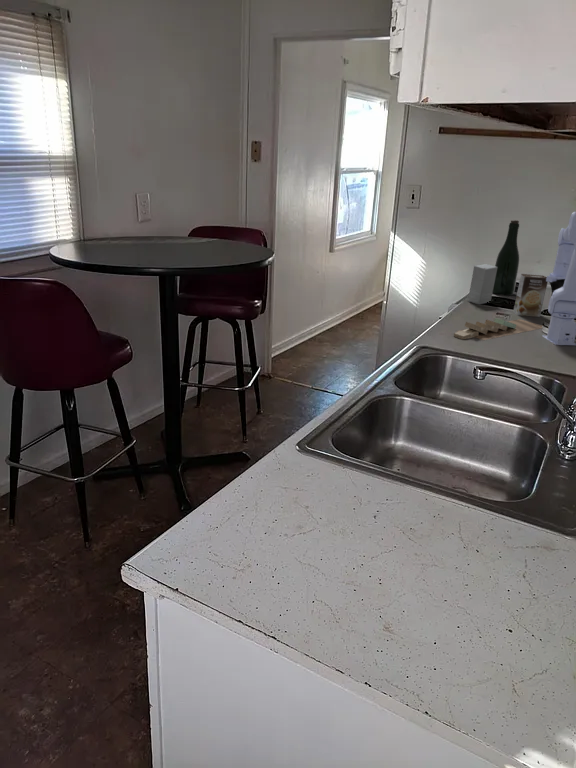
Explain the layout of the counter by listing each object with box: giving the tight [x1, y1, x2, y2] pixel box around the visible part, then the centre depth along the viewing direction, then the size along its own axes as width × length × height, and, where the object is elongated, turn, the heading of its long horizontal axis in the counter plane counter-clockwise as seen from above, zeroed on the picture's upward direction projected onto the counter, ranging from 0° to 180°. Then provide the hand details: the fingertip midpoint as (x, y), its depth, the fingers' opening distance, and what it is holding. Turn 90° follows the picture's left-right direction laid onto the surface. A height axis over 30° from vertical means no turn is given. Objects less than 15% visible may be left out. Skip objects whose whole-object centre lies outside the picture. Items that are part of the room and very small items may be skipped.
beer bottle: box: [492, 219, 520, 296], centre depth 272 cm, size 10×10×33 cm
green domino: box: [493, 317, 516, 329], centre depth 218 cm, size 2×4×8 cm
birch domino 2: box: [464, 321, 488, 334], centre depth 209 cm, size 2×4×8 cm
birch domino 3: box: [475, 321, 498, 332], centre depth 212 cm, size 2×4×8 cm
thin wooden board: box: [456, 318, 543, 341], centre depth 218 cm, size 37×12×1 cm, turn 125°
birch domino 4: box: [484, 319, 508, 331], centre depth 215 cm, size 2×4×8 cm
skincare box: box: [467, 263, 497, 305], centre depth 256 cm, size 8×7×16 cm
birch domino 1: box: [453, 328, 479, 340], centre depth 207 cm, size 2×4×8 cm
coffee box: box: [512, 273, 549, 318], centre depth 238 cm, size 9×6×16 cm
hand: (555, 299), depth 222 cm, fingers closed
